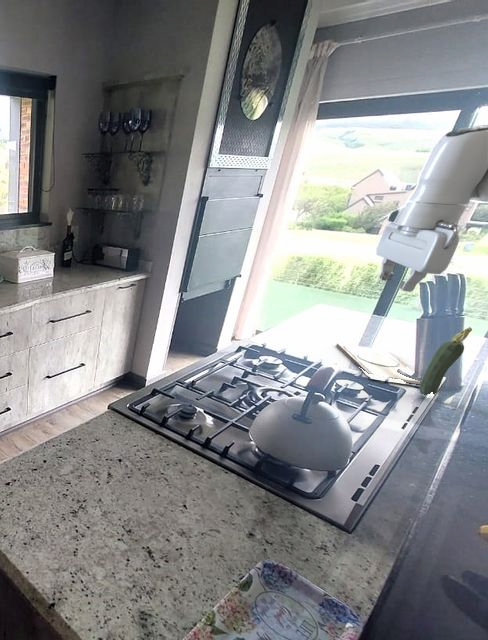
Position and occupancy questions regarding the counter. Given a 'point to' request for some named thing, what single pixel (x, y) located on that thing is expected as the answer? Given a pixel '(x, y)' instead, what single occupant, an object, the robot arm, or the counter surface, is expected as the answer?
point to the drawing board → (376, 361)
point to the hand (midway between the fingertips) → (394, 285)
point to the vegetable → (442, 362)
